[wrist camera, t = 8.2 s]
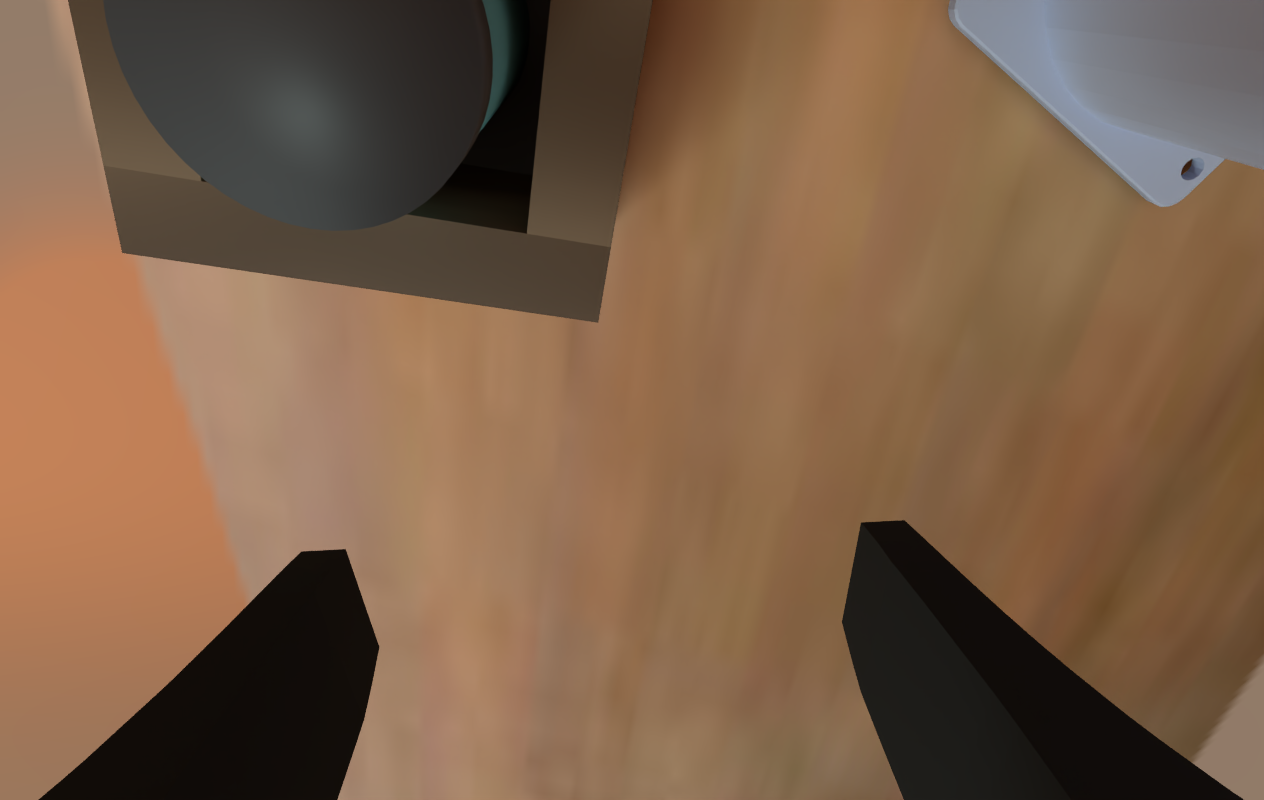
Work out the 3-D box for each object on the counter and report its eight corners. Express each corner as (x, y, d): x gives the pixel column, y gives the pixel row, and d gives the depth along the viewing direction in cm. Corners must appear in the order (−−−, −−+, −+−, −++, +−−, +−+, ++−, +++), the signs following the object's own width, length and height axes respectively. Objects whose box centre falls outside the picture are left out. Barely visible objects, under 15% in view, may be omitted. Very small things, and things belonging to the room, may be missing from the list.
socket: (194, -304, 12) (-31, -463, 8) (666, -189, 13) (698, -270, 9) (247, 180, 16) (122, 252, 12) (598, 237, 17) (597, 322, 13)
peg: (433, -161, 12) (277, -289, 6) (572, 49, 14) (553, 101, 8) (279, -9, 13) (21, 3, 7) (426, 167, 15) (314, 288, 9)
